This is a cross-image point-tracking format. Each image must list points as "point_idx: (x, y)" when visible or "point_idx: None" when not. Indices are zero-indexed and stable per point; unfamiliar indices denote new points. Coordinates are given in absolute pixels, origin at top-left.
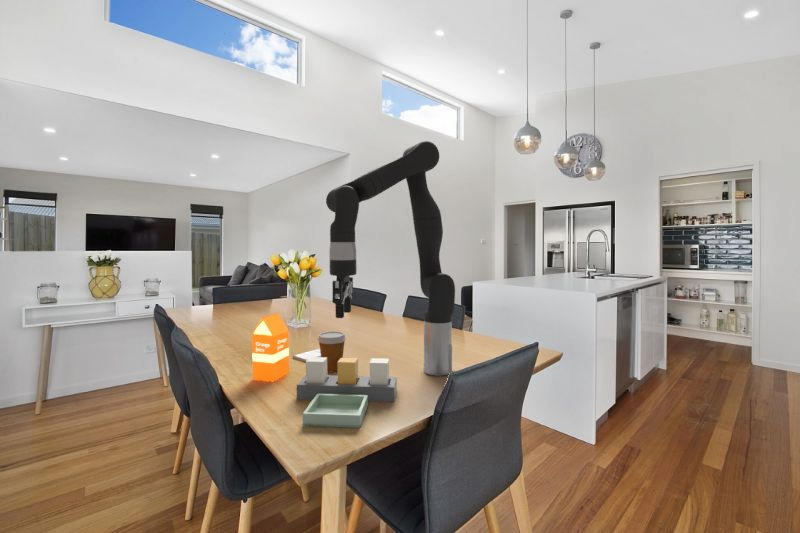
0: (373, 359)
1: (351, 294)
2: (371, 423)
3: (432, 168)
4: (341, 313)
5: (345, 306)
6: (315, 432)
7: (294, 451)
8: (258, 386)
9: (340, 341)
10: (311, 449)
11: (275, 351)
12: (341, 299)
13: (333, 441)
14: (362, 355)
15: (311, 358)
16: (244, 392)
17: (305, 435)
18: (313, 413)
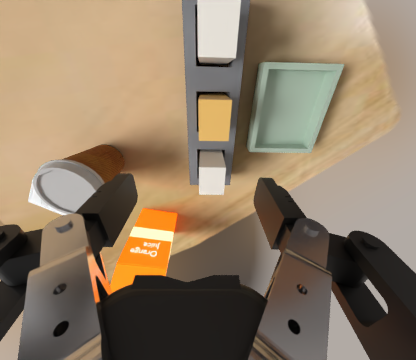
0: (207, 49)
1: (14, 244)
2: (321, 46)
3: None
4: (285, 193)
5: (124, 209)
6: (322, 128)
7: (357, 139)
8: (192, 222)
9: (84, 166)
10: (360, 122)
11: (164, 243)
12: (393, 255)
13: (353, 99)
14: (4, 118)
15: (206, 190)
16: (209, 227)
17: (326, 137)
18: (314, 139)
